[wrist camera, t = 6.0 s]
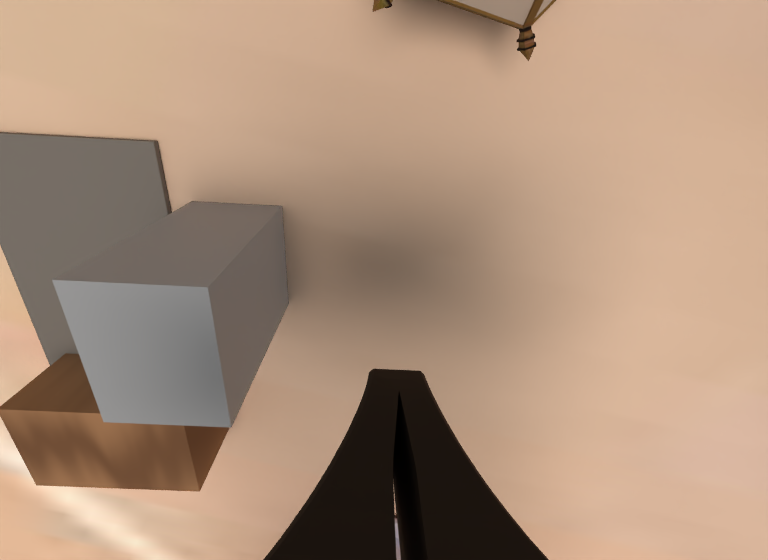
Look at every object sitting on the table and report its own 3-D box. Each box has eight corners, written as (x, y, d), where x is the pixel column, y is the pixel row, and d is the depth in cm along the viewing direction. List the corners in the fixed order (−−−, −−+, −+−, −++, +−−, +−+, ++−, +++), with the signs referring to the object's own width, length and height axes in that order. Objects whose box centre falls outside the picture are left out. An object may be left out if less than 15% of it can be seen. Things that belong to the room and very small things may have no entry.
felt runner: (217, 447, 24) (215, 451, 24) (86, 442, 24) (83, 446, 23) (157, 141, 16) (153, 141, 16) (-40, 130, 16) (-47, 130, 16)
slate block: (288, 303, 19) (231, 427, 12) (208, 299, 19) (103, 422, 12) (282, 205, 17) (207, 287, 10) (192, 201, 17) (52, 280, 10)
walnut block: (199, 491, 19) (36, 485, 19) (229, 428, 23) (91, 422, 23) (181, 417, 17) (-3, 409, 17) (217, 360, 21) (65, 353, 20)
